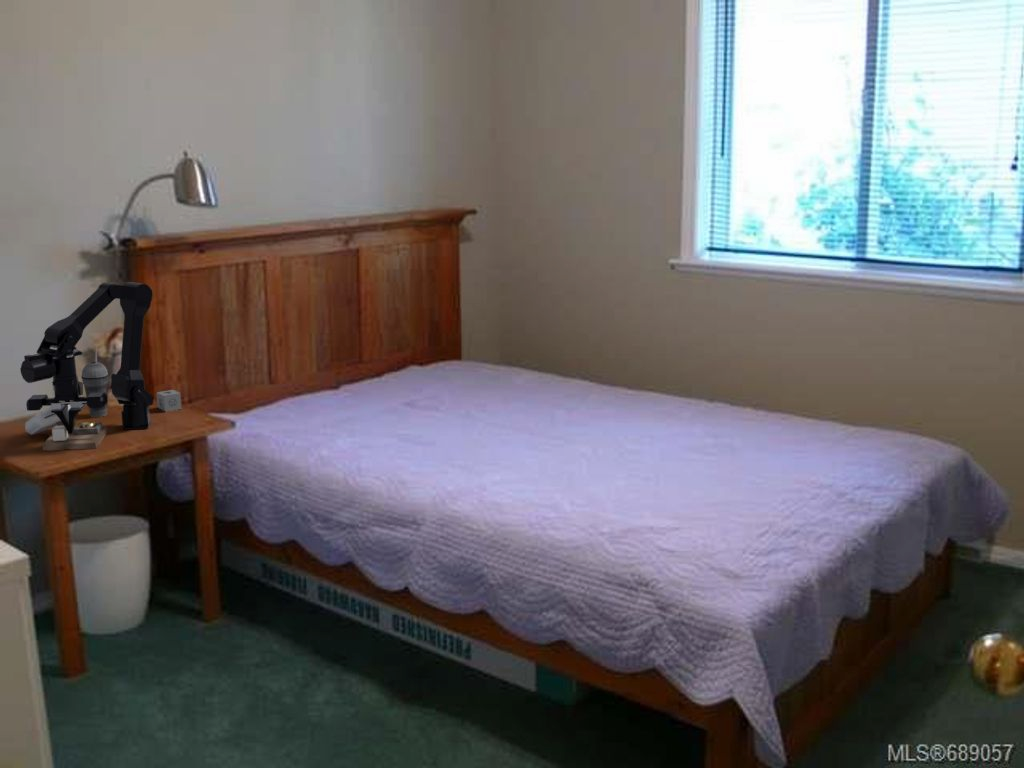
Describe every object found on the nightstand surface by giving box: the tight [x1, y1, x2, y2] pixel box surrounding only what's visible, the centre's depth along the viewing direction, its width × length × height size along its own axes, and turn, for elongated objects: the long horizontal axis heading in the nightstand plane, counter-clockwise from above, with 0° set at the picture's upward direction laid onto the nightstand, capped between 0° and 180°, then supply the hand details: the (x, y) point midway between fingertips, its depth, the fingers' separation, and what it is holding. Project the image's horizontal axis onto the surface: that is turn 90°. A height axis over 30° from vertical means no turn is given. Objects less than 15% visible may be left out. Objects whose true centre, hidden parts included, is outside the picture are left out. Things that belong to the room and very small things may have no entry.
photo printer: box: [24, 405, 71, 436], centre depth 293 cm, size 10×4×12 cm
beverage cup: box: [81, 346, 109, 418], centre depth 311 cm, size 7×7×20 cm
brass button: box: [81, 421, 95, 428], centre depth 293 cm, size 3×3×2 cm
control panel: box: [41, 421, 108, 451], centre depth 289 cm, size 13×14×3 cm
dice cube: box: [156, 389, 182, 412], centre depth 319 cm, size 5×5×5 cm
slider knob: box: [51, 425, 68, 441], centre depth 285 cm, size 3×3×3 cm
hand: (70, 433), depth 285 cm, fingers closed
